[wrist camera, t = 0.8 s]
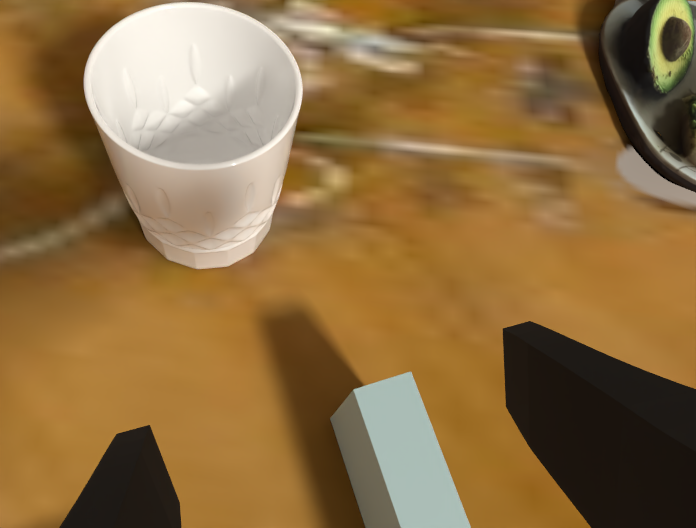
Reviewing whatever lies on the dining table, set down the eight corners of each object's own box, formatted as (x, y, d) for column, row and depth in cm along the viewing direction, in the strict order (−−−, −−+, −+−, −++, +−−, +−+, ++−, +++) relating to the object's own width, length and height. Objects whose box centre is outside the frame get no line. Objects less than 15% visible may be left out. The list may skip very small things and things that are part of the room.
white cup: (99, 251, 29) (41, 124, 20) (164, 130, 33) (139, -24, 24) (253, 302, 29) (263, 198, 21) (301, 176, 33) (327, 41, 24)
